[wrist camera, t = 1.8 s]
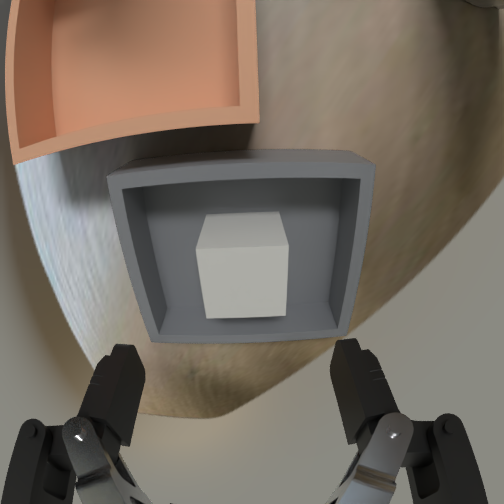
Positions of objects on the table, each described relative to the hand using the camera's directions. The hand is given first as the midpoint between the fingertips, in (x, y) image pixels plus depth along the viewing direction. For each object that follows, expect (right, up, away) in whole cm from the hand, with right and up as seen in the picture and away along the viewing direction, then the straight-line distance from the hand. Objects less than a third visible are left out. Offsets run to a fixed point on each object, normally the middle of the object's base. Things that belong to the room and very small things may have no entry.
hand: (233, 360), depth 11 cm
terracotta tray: (-6, +18, +2) cm, 19 cm away
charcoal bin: (0, +5, +9) cm, 10 cm away
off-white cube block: (0, +5, +8) cm, 9 cm away
